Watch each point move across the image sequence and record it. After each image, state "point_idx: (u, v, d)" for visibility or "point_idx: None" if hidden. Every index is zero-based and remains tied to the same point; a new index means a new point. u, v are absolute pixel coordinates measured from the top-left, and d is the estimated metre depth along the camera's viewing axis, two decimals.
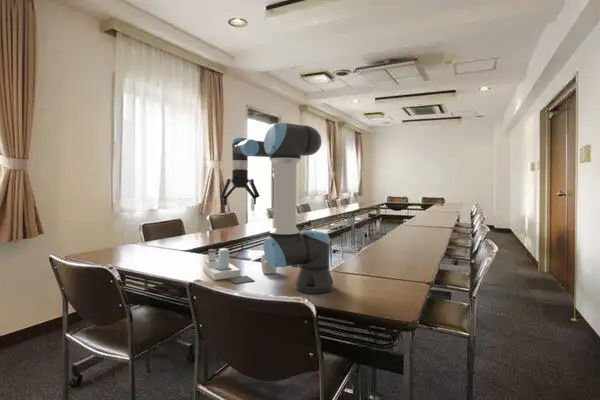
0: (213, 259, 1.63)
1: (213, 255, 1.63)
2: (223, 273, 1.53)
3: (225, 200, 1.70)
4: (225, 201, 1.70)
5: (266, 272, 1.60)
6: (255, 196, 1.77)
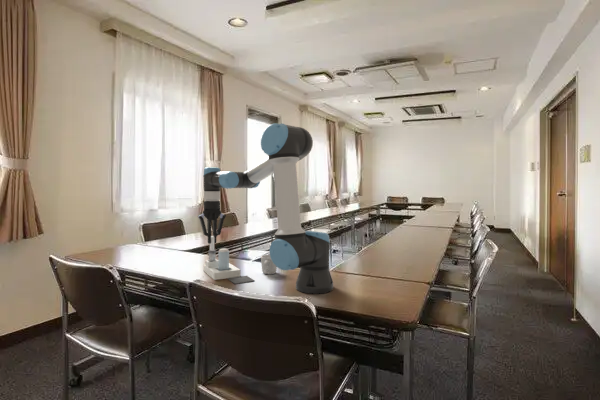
0: (213, 260, 1.63)
1: (213, 256, 1.63)
2: (223, 273, 1.53)
3: (209, 238, 1.62)
4: (209, 239, 1.62)
5: (266, 272, 1.60)
6: (216, 234, 1.63)
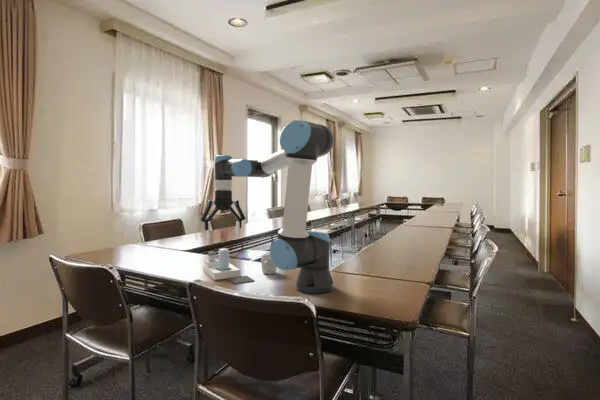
0: None
1: (213, 257, 1.63)
2: (223, 273, 1.53)
3: (206, 224, 1.53)
4: (206, 225, 1.53)
5: (266, 272, 1.60)
6: (240, 219, 1.61)
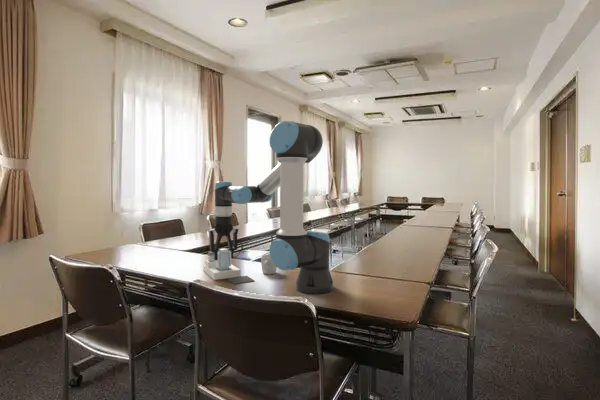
0: None
1: (213, 257, 1.63)
2: (223, 273, 1.53)
3: (216, 255, 1.56)
4: (216, 256, 1.56)
5: (266, 272, 1.60)
6: (232, 249, 1.59)
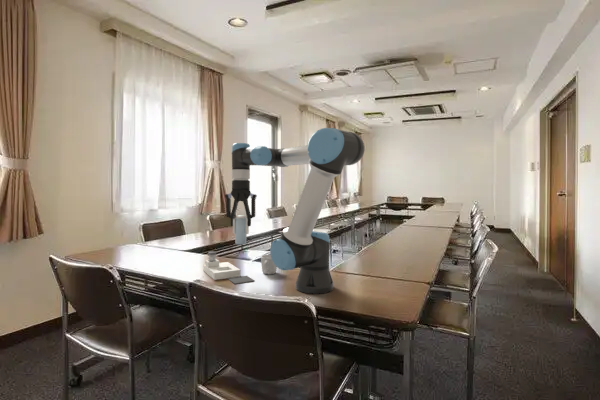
0: None
1: (213, 257, 1.63)
2: (223, 273, 1.53)
3: (232, 220, 1.49)
4: (232, 221, 1.49)
5: (266, 272, 1.60)
6: (249, 217, 1.48)
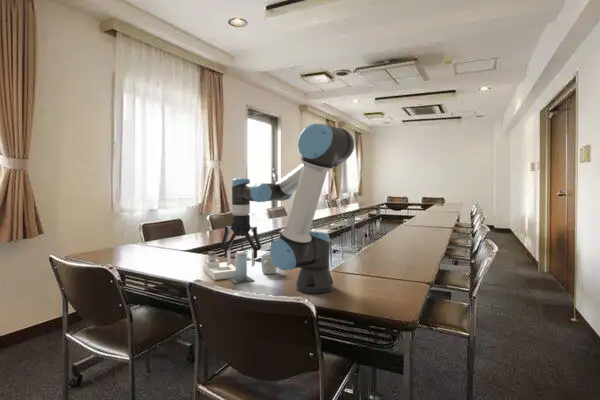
0: None
1: (213, 257, 1.63)
2: (223, 273, 1.53)
3: (226, 252, 1.50)
4: (226, 253, 1.50)
5: (266, 272, 1.60)
6: (255, 249, 1.48)
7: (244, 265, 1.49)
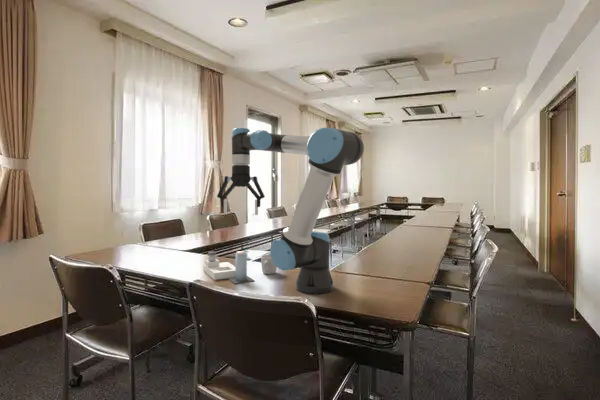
0: None
1: (213, 257, 1.63)
2: (223, 273, 1.53)
3: (222, 201, 1.49)
4: (222, 202, 1.49)
5: (266, 272, 1.60)
6: (258, 197, 1.47)
7: (244, 265, 1.49)
